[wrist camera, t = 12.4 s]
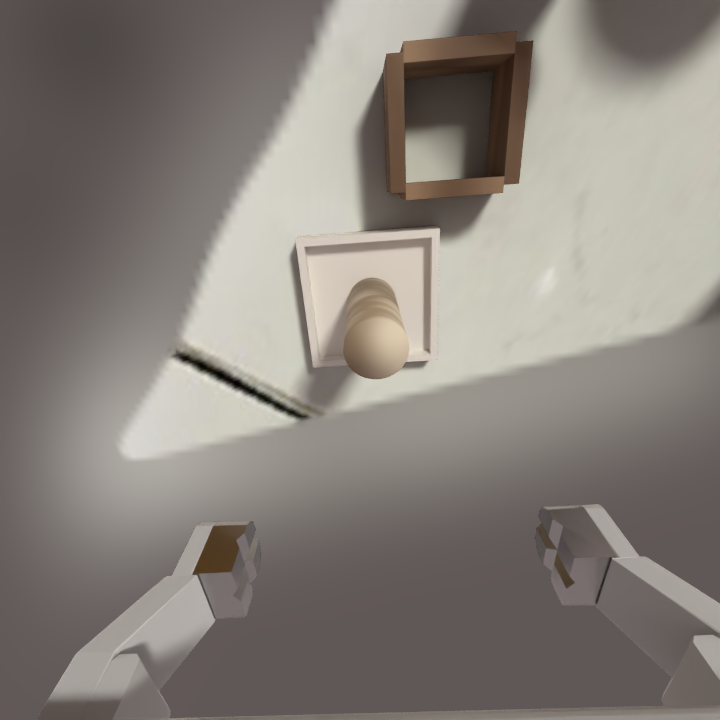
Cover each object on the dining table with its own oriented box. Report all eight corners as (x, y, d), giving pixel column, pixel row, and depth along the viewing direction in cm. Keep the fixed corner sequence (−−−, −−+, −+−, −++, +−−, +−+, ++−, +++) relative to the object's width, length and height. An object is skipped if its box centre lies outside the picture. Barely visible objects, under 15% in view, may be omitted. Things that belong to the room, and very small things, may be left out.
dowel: (395, 276, 31) (408, 316, 22) (396, 321, 32) (409, 377, 24) (346, 279, 31) (340, 321, 22) (350, 324, 33) (346, 380, 24)
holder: (509, 51, 25) (534, 29, 21) (498, 190, 29) (518, 191, 25) (382, 62, 25) (386, 43, 22) (387, 198, 29) (391, 201, 25)
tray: (435, 225, 30) (440, 228, 28) (433, 351, 35) (437, 360, 33) (298, 236, 30) (295, 239, 29) (315, 359, 35) (313, 367, 33)
